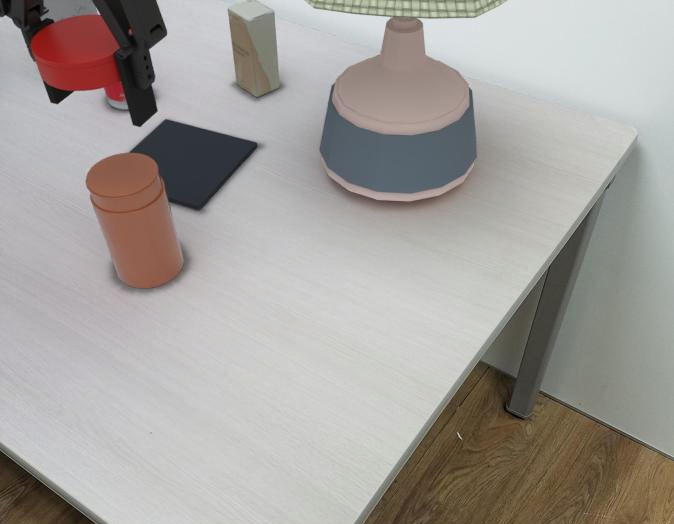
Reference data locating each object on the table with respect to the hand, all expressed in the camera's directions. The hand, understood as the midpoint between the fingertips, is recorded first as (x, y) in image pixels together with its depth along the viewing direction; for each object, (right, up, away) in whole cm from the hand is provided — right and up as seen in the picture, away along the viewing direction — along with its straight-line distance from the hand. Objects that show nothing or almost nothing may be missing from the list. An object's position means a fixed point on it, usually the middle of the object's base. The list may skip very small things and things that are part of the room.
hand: (103, 106), depth 62 cm
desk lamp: (+28, +1, +24) cm, 37 cm away
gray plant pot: (-18, +20, +43) cm, 50 cm away
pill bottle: (-8, +13, +36) cm, 39 cm away
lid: (0, +4, -4) cm, 6 cm away
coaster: (+1, +1, +26) cm, 26 cm away
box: (+10, +15, +37) cm, 41 cm away
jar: (+1, -13, +14) cm, 19 cm away
